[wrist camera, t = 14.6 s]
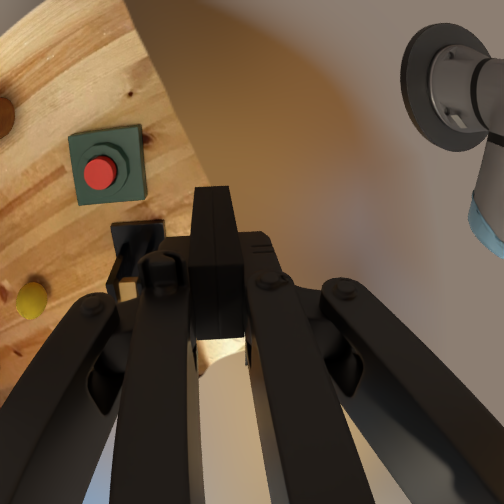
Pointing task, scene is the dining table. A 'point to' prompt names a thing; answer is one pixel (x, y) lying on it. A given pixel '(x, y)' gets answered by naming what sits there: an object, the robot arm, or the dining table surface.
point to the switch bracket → (132, 250)
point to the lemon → (31, 300)
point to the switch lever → (128, 288)
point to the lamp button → (100, 172)
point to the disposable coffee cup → (6, 116)
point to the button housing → (121, 153)
